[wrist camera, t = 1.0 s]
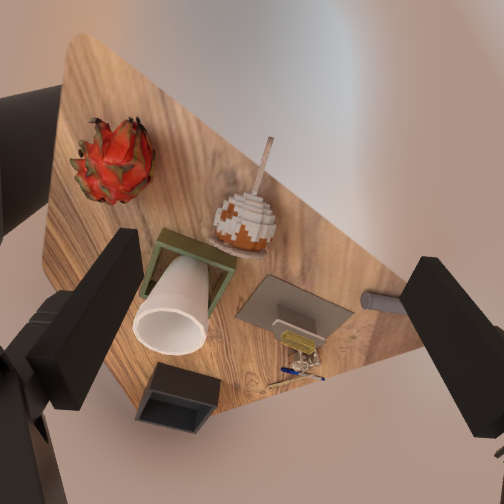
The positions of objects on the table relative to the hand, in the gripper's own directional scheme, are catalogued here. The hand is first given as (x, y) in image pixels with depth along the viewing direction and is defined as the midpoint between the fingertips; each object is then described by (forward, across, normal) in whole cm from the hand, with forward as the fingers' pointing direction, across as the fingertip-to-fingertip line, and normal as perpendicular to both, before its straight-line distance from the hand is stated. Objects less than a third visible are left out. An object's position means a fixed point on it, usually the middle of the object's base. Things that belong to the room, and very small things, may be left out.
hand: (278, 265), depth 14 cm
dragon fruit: (+27, -17, -5) cm, 32 cm away
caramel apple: (+21, -2, -15) cm, 26 cm away
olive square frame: (+27, -10, -23) cm, 37 cm away
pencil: (+27, +26, -25) cm, 45 cm away
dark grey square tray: (+27, -13, -59) cm, 66 cm away
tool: (+26, +13, -52) cm, 60 cm away
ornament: (+26, +13, -41) cm, 51 cm away
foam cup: (+27, -10, -23) cm, 37 cm away
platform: (+27, +9, -32) cm, 42 cm away
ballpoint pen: (+26, +15, -49) cm, 57 cm away
